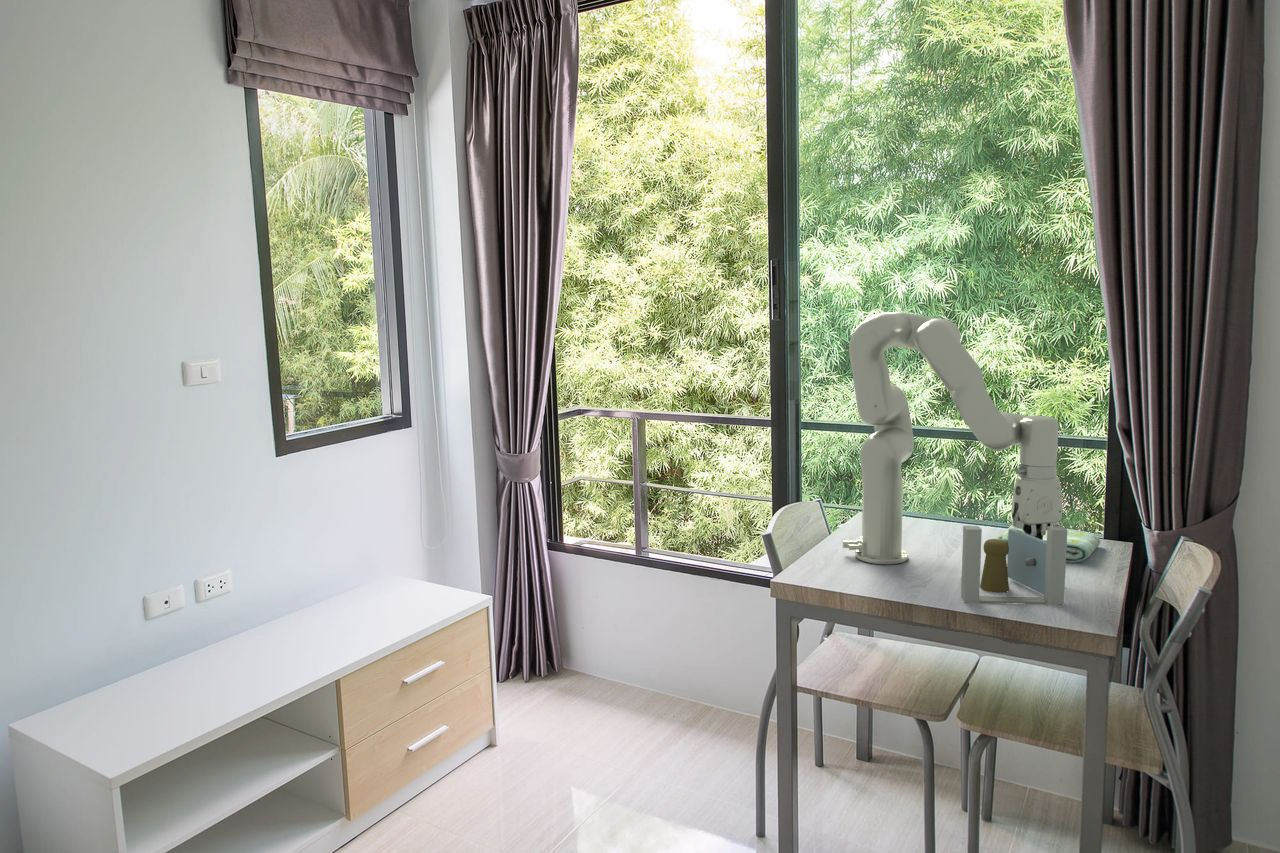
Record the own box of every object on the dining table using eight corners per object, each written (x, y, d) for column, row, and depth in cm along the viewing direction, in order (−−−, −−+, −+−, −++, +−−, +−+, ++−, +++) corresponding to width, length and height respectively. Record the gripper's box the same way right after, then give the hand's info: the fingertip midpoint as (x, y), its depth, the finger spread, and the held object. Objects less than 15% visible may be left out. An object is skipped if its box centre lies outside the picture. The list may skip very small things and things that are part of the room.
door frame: (964, 602, 188) (966, 529, 186) (960, 597, 191) (963, 525, 189) (1063, 604, 186) (1067, 530, 183) (1058, 599, 189) (1062, 526, 186)
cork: (989, 593, 193) (990, 544, 191) (974, 584, 199) (976, 537, 197) (1014, 591, 194) (1017, 543, 192) (999, 583, 200) (1001, 535, 198)
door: (1049, 594, 189) (1052, 543, 188) (1038, 596, 189) (1040, 545, 187) (1011, 576, 202) (1013, 528, 200) (1000, 577, 201) (1002, 529, 199)
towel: (1012, 536, 237) (1013, 517, 236) (1100, 548, 225) (1101, 529, 224) (993, 553, 223) (994, 533, 222) (1086, 567, 210) (1088, 546, 209)
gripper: (1019, 477, 192) (1015, 559, 195) (1078, 472, 196) (1074, 553, 199) (997, 470, 200) (994, 550, 202) (1055, 466, 203) (1051, 544, 206)
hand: (1033, 551), depth 200 cm, fingers closed
